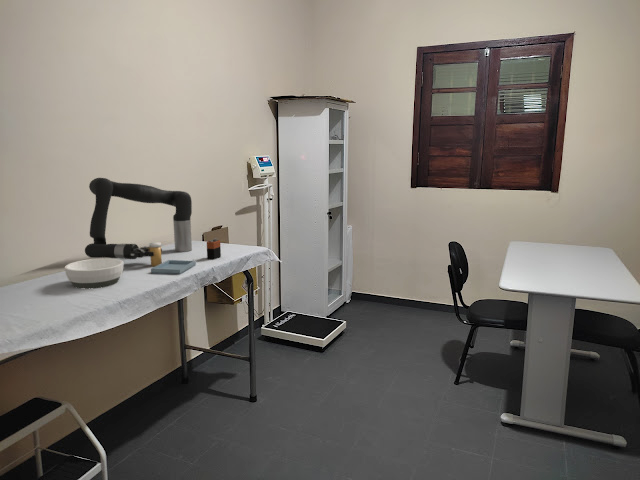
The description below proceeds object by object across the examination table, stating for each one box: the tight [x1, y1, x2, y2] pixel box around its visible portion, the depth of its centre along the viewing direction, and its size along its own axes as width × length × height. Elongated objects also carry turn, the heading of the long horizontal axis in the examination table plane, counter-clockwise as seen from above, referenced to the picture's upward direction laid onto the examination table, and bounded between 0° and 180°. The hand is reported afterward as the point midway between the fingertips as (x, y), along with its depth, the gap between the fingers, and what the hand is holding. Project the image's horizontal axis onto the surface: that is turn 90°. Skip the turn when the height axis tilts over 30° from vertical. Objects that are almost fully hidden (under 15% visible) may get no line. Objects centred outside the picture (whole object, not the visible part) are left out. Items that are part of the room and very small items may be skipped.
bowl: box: [64, 257, 124, 290], centre depth 202 cm, size 22×22×8 cm
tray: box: [150, 259, 197, 275], centre depth 226 cm, size 18×14×2 cm
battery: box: [206, 237, 222, 260], centre depth 250 cm, size 4×7×10 cm, turn 158°
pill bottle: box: [148, 241, 163, 267], centre depth 233 cm, size 5×5×11 cm
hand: (157, 252), depth 233 cm, fingers open, 8 cm apart
